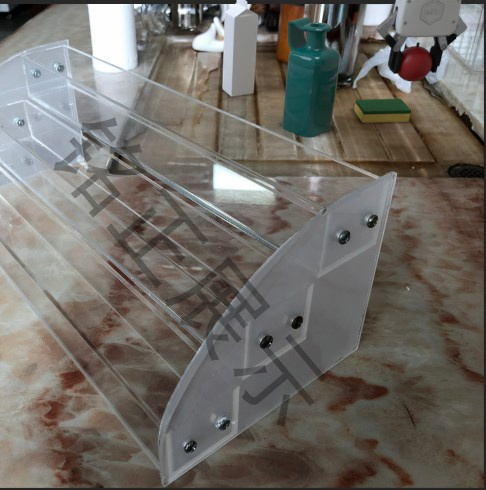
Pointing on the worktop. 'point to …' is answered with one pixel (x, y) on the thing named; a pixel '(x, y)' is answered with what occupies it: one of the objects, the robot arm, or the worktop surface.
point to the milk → (239, 49)
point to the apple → (415, 63)
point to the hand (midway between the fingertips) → (412, 70)
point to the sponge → (382, 110)
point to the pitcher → (310, 79)
